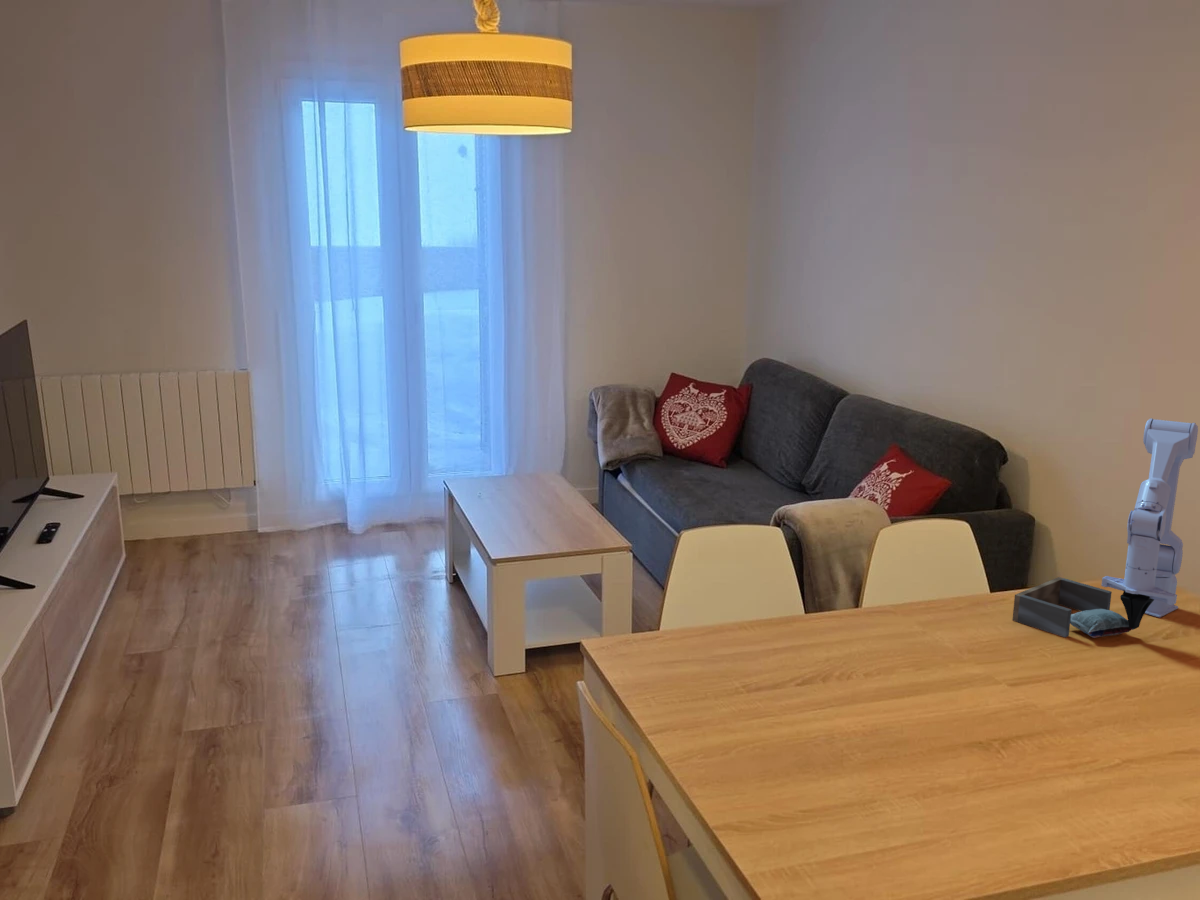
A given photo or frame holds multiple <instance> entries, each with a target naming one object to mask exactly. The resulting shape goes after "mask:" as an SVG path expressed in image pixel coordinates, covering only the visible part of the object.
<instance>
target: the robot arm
mask: <svg viewBox="0 0 1200 900" xmlns="http://www.w3.org/2000/svg"><path fill="white" fill-rule="evenodd" d="M1198 434H1199V426H1198V425H1197V424H1196V422H1192V423H1191V422H1183V421H1174V420H1173V421H1172V420H1166V419H1164V420H1163V419H1157V418H1156V419H1154V418H1152V417H1151V418H1150V417H1149V419H1147V421H1146V422H1145V427H1144V431H1143V439H1142V440H1143V445H1144V447H1145V449H1146V452H1147V453H1148V454H1150V455H1151V459H1150V465H1149V474H1148V479H1144V480H1143V481H1142V482H1141V483H1140V486H1139V489H1138V494H1137V496H1136V501H1135V504H1134V510H1133V509H1131V510H1130V512H1129V514H1128V518H1127V524H1126V525H1127V527H1126V529H1127V530H1126V531H1127V539H1126V544H1128V546H1127V553H1126V560H1125V561H1126V562H1125V571H1124V578H1120V577H1114V576H1109V575H1105V576H1103V577H1102V578H1101V579H1102V580H1101V586H1100V587H1104V588H1111V589H1115V590H1118V591H1121V592H1123V593H1122V594H1121V595H1120V598H1119V599H1120V601H1121V602H1122V604H1123V607H1124V609H1125V613H1126V617H1127V618H1126V619H1127V620H1128V624H1129V628H1132V629H1134V630H1136V629H1137V628H1140V624H1141V621H1142V619H1143V617H1144V615H1145V614H1146V615H1150V616H1153V617H1157V618H1162V617H1164V616H1165V615H1167V614H1169V613H1172V612H1173V611H1176V610H1177V609H1179V605H1175V604H1176V603H1177V599H1178V598H1177V597H1178V594H1176V593H1177V585H1178V580H1177V579H1178V578H1177V576H1176V575H1177V574H1178V573H1180V571H1181V570H1180V569H1181V565H1182V560H1183V547H1184V543H1183V540H1182V539H1181V538H1180V537H1179V536H1178V535H1177V534H1176V533H1175V532H1174V531H1173V530H1172V524H1173V518H1174V513H1175V512H1174V511H1175V505H1176V504H1175V503H1176V497H1177V490H1178V483H1179V476H1180V469H1181V466H1182V463H1183V462H1184V460H1189V459H1193V457H1194V455H1195V452H1196V444H1197V441H1198Z"/></svg>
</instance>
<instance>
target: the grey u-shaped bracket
mask: <svg viewBox="0 0 1200 900" xmlns="http://www.w3.org/2000/svg"><path fill="white" fill-rule="evenodd" d="M1112 593H1113V592H1112V591H1110V590H1108V589H1103V588H1099V587H1096V586H1093V585H1089V584H1086V583H1082V582H1078V581H1076V580H1071V579H1067V578H1064V577H1060V576H1057V577H1055V578H1053V579H1051V580H1047V581H1046V582H1043V583H1041V584H1038V585H1036V586H1033V587H1030V588H1028V589H1026V590H1024V591H1021V592H1018V593H1015V594H1014V601H1013V609H1012V619H1011V620H1012V621H1014V622H1017V623H1019V624H1023V625H1026V626H1029V627H1032V628H1035V629H1036V630H1037V629H1039V630H1041V631H1044V632H1047V633H1051V634H1052V635H1056V636H1060V637H1063V638H1067V637H1069V635H1070V627H1071V626H1070V625H1071V624H1070V619H1071V614H1072V610H1077V611H1078V612H1081V611H1085V610H1093V609H1106V610H1111V601H1112Z"/></svg>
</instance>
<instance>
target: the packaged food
mask: <svg viewBox="0 0 1200 900" xmlns="http://www.w3.org/2000/svg"><path fill="white" fill-rule="evenodd" d="M1070 625H1071V626H1073V627H1074V628H1076V629H1078V631H1081V632H1083V633H1084V634H1086V635H1088V636H1090V637H1091V638H1094V639H1095V638H1102V637H1109V636H1117V635H1121V634H1126V633H1129V632H1130V631H1134V630H1135V629H1132V628H1129V624H1128V618H1126V617H1124V616H1123V615H1121V614H1120V613H1118V612H1116V611H1113V610H1111V609H1110V610H1106V609H1093V610H1085V611H1078V612H1075V613H1071V619H1070Z"/></svg>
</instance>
